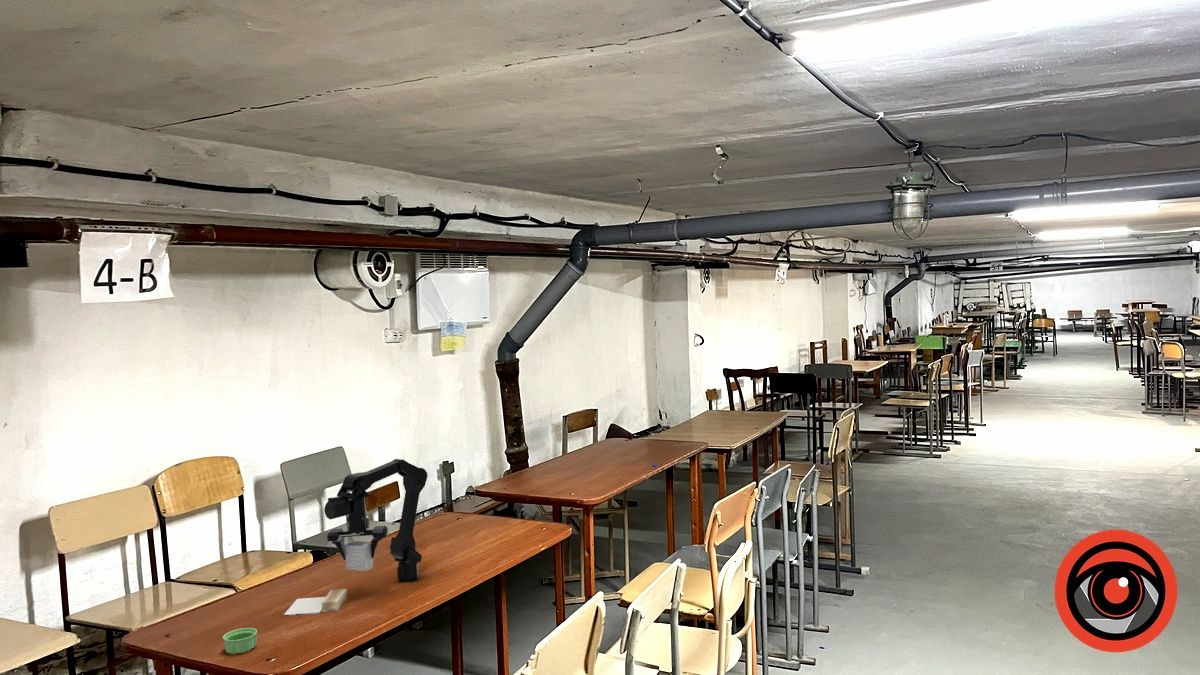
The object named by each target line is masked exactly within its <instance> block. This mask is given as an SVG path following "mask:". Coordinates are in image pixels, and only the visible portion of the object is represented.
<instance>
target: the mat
mask: <svg viewBox="0 0 1200 675" xmlns="http://www.w3.org/2000/svg"><path fill="white" fill-rule="evenodd" d="M325 597H326V596H319V597H307V598H296V599H295V601H294V602H293V604H291V606H290V607H289V608H288V609H287V610H286V612H284V613H283V616H284V615H289V616H297V615H296V614H303V615H312V614H313V615H314V614H320V613H321V612H322V601H323V600H324V599H325Z"/></svg>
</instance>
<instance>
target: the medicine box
mask: <svg viewBox="0 0 1200 675" xmlns="http://www.w3.org/2000/svg"><path fill="white" fill-rule="evenodd" d="M344 544H345V543H344ZM371 553H372V541H357V540H355V541H354V540H352V541H349V542H347V543H346V544H345V560H344V561H345V570H347V571H358V572H359V571H360V572H367V571H369V570H371V569H373V567H374V558H372V555H371Z"/></svg>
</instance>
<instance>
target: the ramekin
mask: <svg viewBox="0 0 1200 675" xmlns="http://www.w3.org/2000/svg"><path fill="white" fill-rule="evenodd" d="M257 635H258V630H257V628H254V627H242V628H237V629H233V630H231V631H230V630H229V631H228V632H226V633H225V634H224V635H223V636H222V640H223V643H224V644H223V645H224V649H225V650H224V651H225V652H226V653H227V654H228V653H231V654H230V655H233V654H232V653H241V652H245V651H248V650H250V649H252V648H254V647H255V646H257ZM255 648H256V647H255ZM255 648H254V649H255ZM252 650H253V649H252ZM248 652H249V651H248ZM245 653H246V652H245Z"/></svg>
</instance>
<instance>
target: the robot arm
mask: <svg viewBox="0 0 1200 675" xmlns="http://www.w3.org/2000/svg"><path fill="white" fill-rule="evenodd" d="M395 474H398V475H399V476H401V477H402V484H403V489H404V491H405V492H404V499H403V504H402V505H403V506H402V511H401V517H400V522H399V528H398V533H397V534H396V535H395V536H391V540H390V546H389V550H390V555H392V557H393V559H394V561H395V562H396V563H397V564H398V565H397V567H396V574H397V579H398V581H397V582H398V583H402V582H403V583H404V582H417V581H418V579H419V577H420V573H419V563H420V562H421V561H422V557H423V555H422V554H421V553H419V552H418V551H417V550H416V545H417V544H416V541H415V537H414V536H415V535H414V530H415V523H416V518H417V512H418V505H419V498H420V494H421V492H422V490H424V488H425V486H426V483H427V479H428V472H427V471H426V469H425V468H423V467H418V466H417V465H414V464H412V463H410V462H408V461H407V460H405V459H401V458H394V459H393V460H391V461H389V462H386V463H384V464H382V465H379V466H377V467H374V468H372V469H369V470H368V471H367V470H366V471H363V472H355V473H350V474H347V475H346V476H345V477H344V480H343V481H342V482H343V483H342V485H341V487H340V488H339V490H338V492H337V494H336V496H334V497H333V496H332V497H328V498H327V502H326V503H325V506H324V508H323V509H324V514H325V516H326V518H327V519H328V520H333V519H337V518H342V517H346V516H347V526H348V530H344V529H343V528H340V527H339V528H331V529H330V531H329V532H327V534H326V540H327V542H331V544H333V545H335V547H336V548H337V550H338V551H339V553H340V555H341V556H342V559H343V560H344V561H346V560H345V538H350V537H367V536H372V539H371V543H372V553H371V555H372V558H373V559H374V558H375V554H376V551H377V547H378V544H379V541H382V539H384V538H386V537H387V535H388V533H389V532H388V531H389V530H388V526H386V525H376V526H374V527H373V529H370V518H369V517H367V514H366V511H367V510H366V498H370V497H371V496H372V495H371V494H370V493H368V492H367V490H369V489H370V488H371V487H372V485H373V484H375V483H377V482H379V481H381V480H384V479H386V478H388V477H390V476H393V475H395Z"/></svg>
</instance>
